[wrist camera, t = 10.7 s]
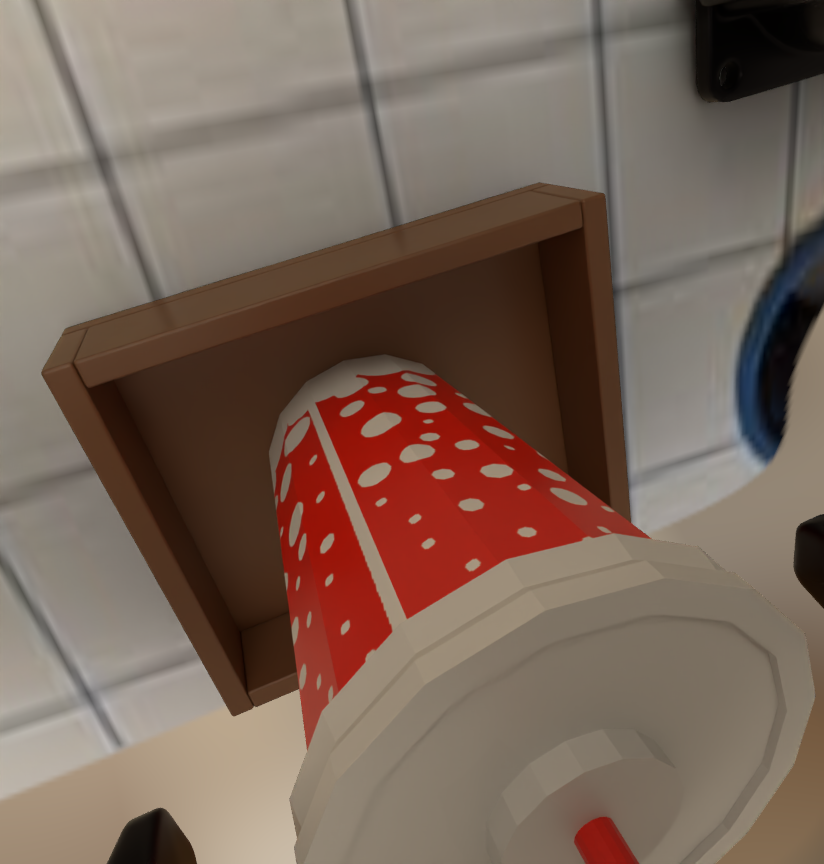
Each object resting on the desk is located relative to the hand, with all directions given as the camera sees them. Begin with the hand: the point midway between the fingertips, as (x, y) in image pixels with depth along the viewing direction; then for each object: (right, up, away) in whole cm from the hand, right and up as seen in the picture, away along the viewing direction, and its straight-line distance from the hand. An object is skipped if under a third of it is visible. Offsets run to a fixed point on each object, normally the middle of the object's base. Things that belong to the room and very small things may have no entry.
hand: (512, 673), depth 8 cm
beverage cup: (-2, +3, +6) cm, 7 cm away
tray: (-2, +3, +7) cm, 8 cm away
